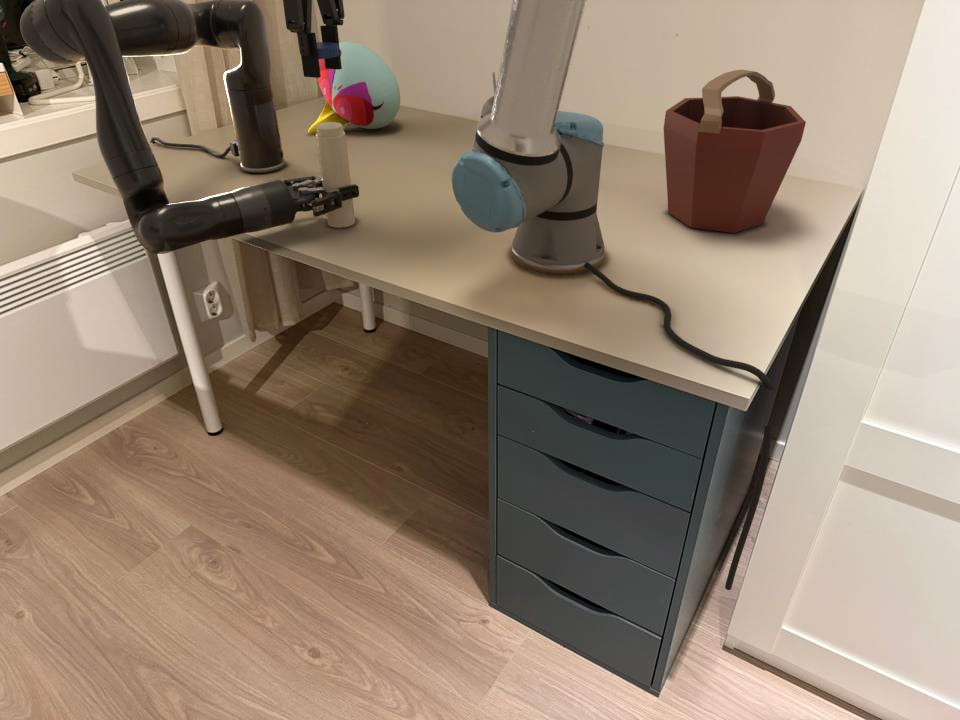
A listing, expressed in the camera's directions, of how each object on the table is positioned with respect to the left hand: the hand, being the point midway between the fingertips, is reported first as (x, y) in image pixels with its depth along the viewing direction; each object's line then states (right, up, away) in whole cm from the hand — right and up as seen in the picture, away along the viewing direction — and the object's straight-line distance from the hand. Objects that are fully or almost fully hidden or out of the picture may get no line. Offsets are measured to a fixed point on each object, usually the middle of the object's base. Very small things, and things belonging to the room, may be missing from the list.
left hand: (350, 185), depth 128 cm
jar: (-2, -6, +2) cm, 7 cm away
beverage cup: (+27, +9, +24) cm, 38 cm away
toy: (-9, +28, +52) cm, 60 cm away
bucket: (+67, -4, +4) cm, 67 cm away
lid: (-2, +19, -15) cm, 24 cm away
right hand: (-2, +16, -12) cm, 20 cm away
